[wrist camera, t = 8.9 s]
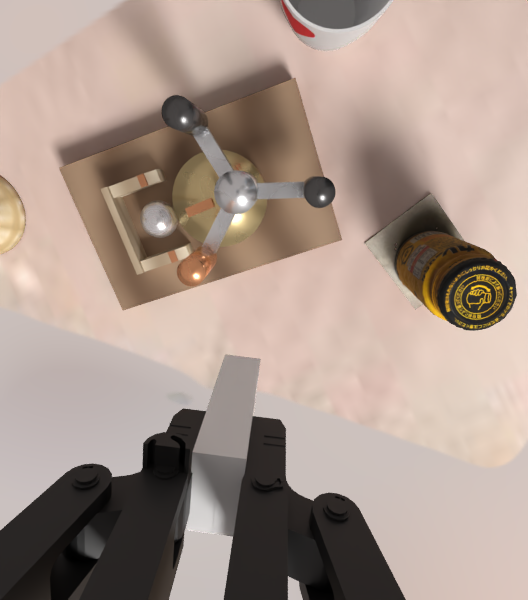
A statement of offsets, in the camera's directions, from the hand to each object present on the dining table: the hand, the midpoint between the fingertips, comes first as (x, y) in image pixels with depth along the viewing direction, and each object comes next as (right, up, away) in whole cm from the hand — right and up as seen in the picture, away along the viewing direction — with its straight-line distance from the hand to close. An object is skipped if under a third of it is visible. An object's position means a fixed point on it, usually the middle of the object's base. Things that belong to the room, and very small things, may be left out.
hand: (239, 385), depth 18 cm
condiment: (+16, +8, +23) cm, 29 cm away
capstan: (-1, +14, +19) cm, 24 cm away
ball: (-8, +11, +20) cm, 25 cm away
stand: (-4, +13, +22) cm, 26 cm away
